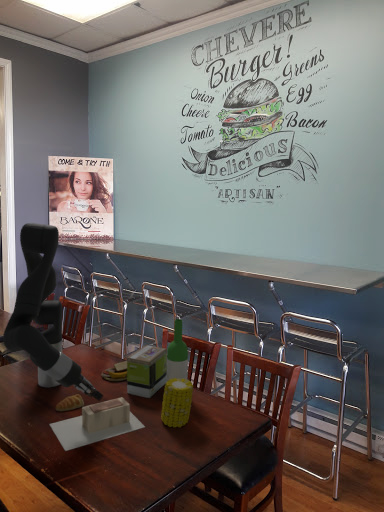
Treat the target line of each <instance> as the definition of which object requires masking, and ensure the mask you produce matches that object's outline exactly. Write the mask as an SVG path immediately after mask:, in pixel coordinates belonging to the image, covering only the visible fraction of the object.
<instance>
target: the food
mask: <svg viewBox="0 0 384 512" xmlns="http://www.w3.org/2000/svg"><path fill="white" fill-rule="evenodd" d="M163 390H164V392H163V397H162V400H163V401H162V404H161V405H162V407H161V414H160V415H161V416H160V417H161V418H160V419H161V421H162V422H163V424H164V425H165V426H168V427H169V428H181V427H182V426H185V425H186V424H188V422H189V418H190V413H191V407H192V403H193V402H192V401H193V400H192V398H193V395H194V394H193V391H194V385H193V382H192V381H191V380H190V379H187V380H186V379H182V380H181V379H180V378H178V379H176V378H173V379H170V380H169V381H167V382H166V384H164V389H163Z"/></svg>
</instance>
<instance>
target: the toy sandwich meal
mask: <svg viewBox="0 0 384 512" xmlns="http://www.w3.org/2000/svg"><path fill="white" fill-rule="evenodd" d="M101 376H102V378H103V379H105V380H107V381H110V382H121V381H125V380H126V381H127V360H125V361H121V362H118V363H114V364H113V367H109V368H107V369H104V370H103V371H102V372H101Z"/></svg>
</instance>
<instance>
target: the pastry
mask: <svg viewBox="0 0 384 512" xmlns="http://www.w3.org/2000/svg"><path fill="white" fill-rule="evenodd" d="M81 407H85V402H84V400H83V397H82V396H81V394H77V393H76V394H75V395H70V396H67V397H65V398H64V399H63V400H61V401H60V402H58V403H57V404H56V406H55V410H56V412H57V411H58V412H65V411H71V410H75V409H78V408H81Z"/></svg>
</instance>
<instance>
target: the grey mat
mask: <svg viewBox="0 0 384 512" xmlns="http://www.w3.org/2000/svg"><path fill="white" fill-rule="evenodd" d="M49 427H50V428H51V430H52V431H53V433H54V435H55V436H56V438H57V439H58V441H59V443H60V445H61V447H62V448H63V450H64V451H65V452H67V451H70V450H74V449H76V448H77V449H78V448H80V447H83V446H87V445H91V444H93V443H97V442H101V441H103V440H107V439H110V438H114V437H117V436H120V435H123V434H127V433H130V432H134V431H137V430H140V429H144V428H146V426H145V425H144V424H143V423H142V422H141V421H140V420H139V419H138V418H137V417H136V416H135V415H134V414H133V413H132V412H131V411H130V422H126V423H123V424H120V425H116V426H113V427H109V428H106V429H102V430H99V431H95V432H92V433H88V432H87V430H86V429H85V428H84V426H83V425H82V415H80V416H75V417H72V418H67V419H64V420H60V421H56V422H53V423H49Z"/></svg>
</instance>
